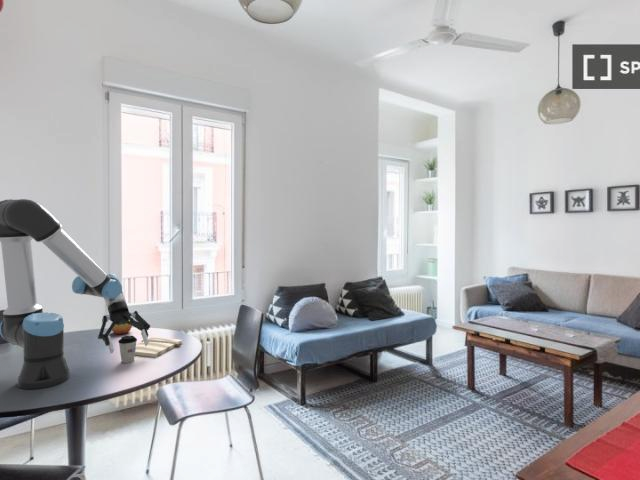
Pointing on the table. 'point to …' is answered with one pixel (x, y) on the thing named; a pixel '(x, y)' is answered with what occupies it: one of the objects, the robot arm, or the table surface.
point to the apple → (122, 328)
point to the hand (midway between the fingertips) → (130, 347)
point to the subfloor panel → (156, 346)
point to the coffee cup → (127, 348)
